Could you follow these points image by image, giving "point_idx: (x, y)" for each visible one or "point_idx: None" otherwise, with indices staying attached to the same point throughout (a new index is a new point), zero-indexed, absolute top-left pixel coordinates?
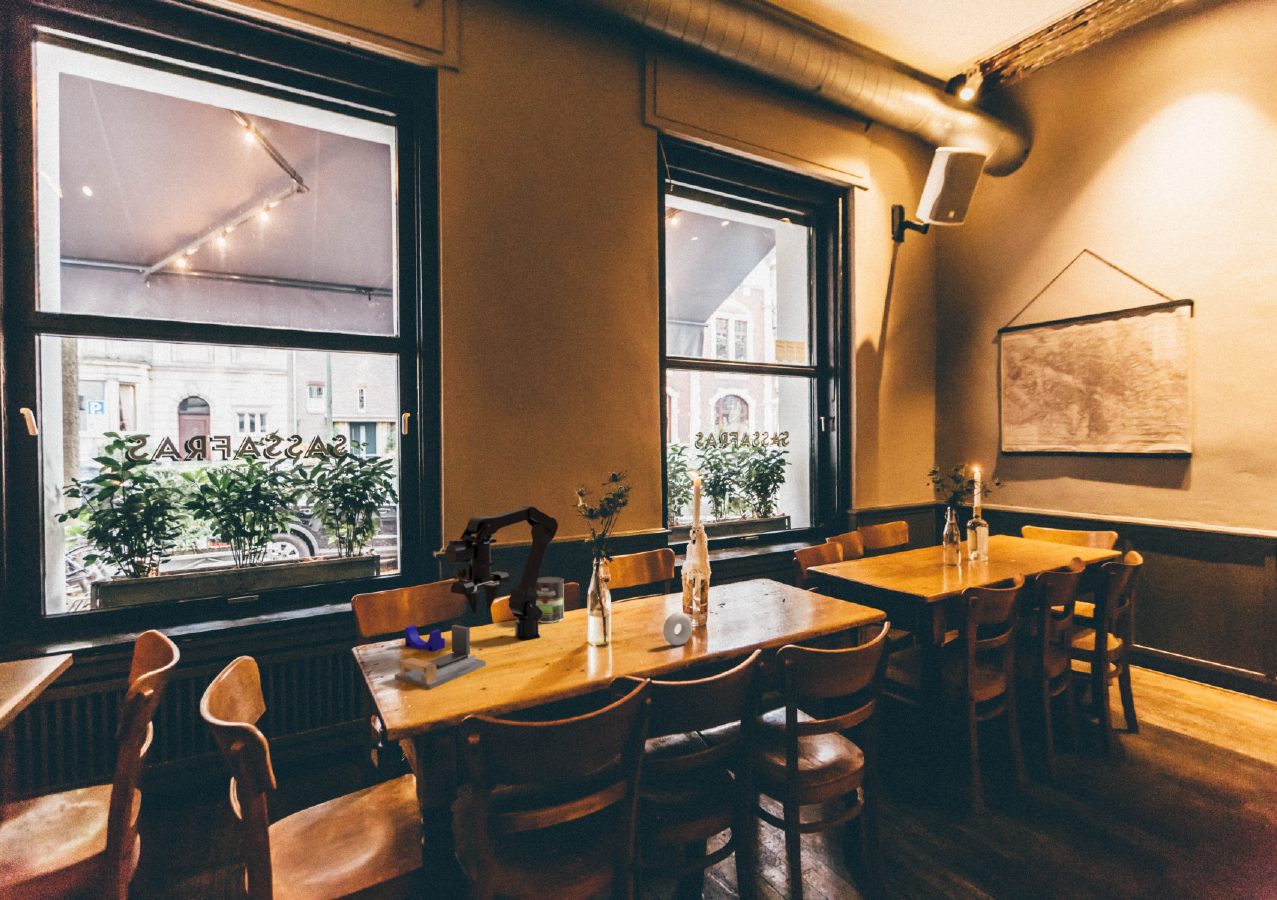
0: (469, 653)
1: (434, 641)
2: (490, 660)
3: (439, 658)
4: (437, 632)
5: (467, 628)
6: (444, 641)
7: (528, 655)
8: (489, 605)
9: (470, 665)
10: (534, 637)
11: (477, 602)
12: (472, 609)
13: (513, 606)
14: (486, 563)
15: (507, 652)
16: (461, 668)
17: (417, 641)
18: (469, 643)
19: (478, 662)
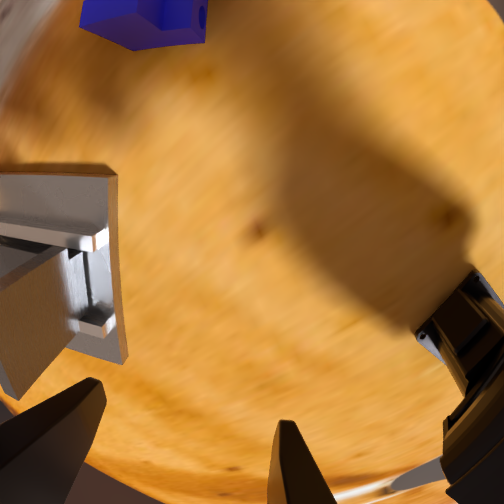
0: (76, 331)
1: (113, 38)
2: (169, 348)
3: (4, 251)
4: (111, 21)
5: (9, 395)
6: (191, 33)
7: (270, 423)
8: (270, 473)
9: (72, 339)
10: (443, 362)
11: (50, 496)
12: (62, 401)
13: (493, 415)
14: None
15: (269, 360)
16: None
17: None
18: (54, 355)
19: (101, 349)
